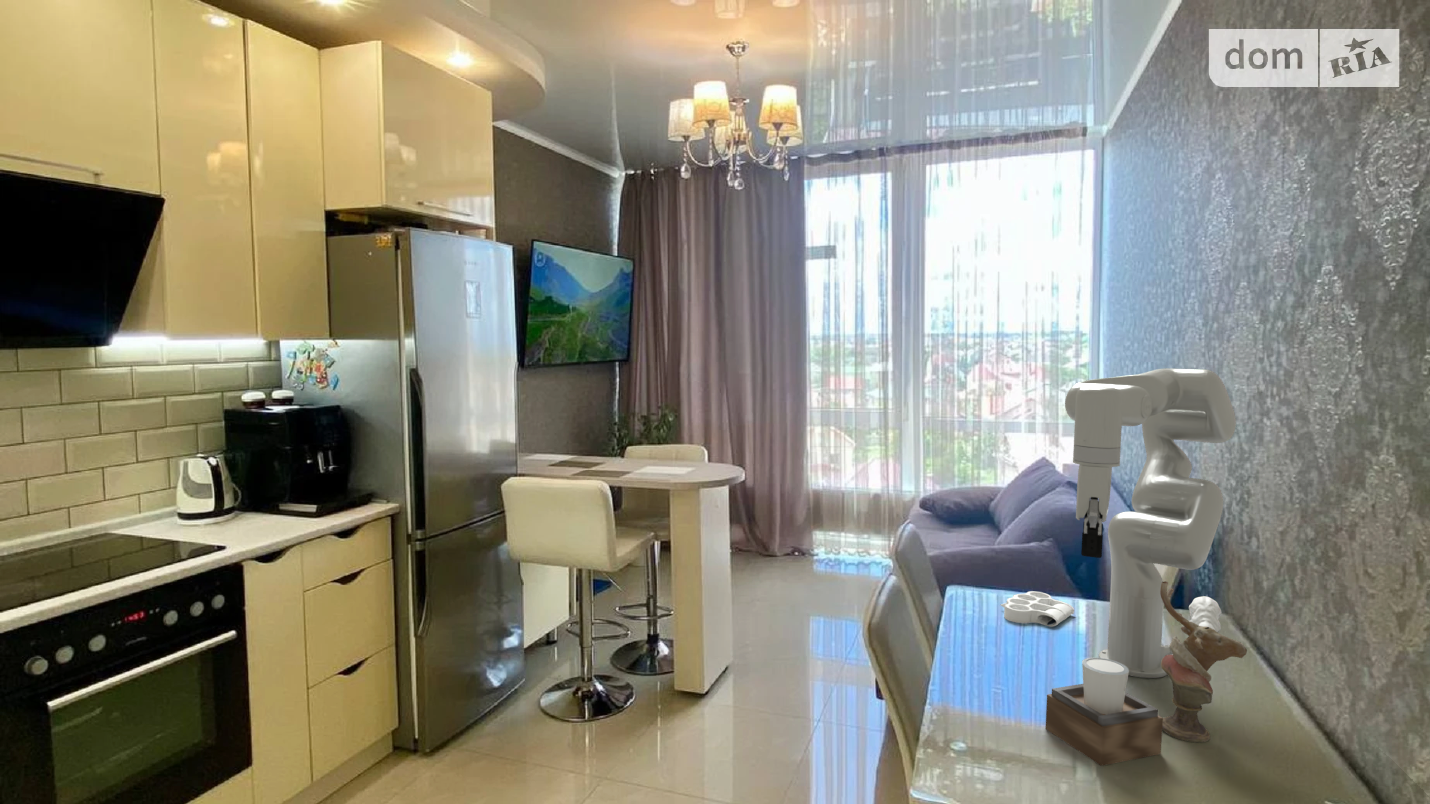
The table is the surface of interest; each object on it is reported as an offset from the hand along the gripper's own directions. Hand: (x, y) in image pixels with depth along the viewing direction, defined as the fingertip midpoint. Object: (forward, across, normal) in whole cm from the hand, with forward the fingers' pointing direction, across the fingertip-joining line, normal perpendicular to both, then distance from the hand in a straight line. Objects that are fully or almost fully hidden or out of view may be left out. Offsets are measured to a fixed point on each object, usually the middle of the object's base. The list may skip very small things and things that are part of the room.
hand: (1091, 550), depth 138 cm
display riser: (+28, +14, +3) cm, 32 cm away
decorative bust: (+28, +4, +17) cm, 33 cm away
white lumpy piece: (+29, -47, +23) cm, 60 cm away
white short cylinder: (+22, +14, +3) cm, 27 cm away
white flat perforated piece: (+29, -46, -12) cm, 56 cm away
